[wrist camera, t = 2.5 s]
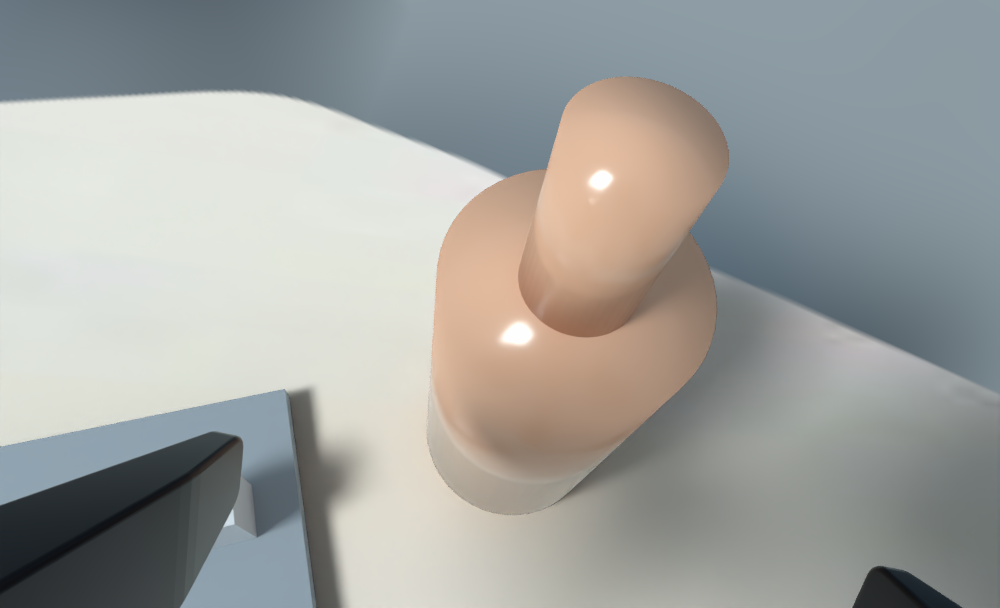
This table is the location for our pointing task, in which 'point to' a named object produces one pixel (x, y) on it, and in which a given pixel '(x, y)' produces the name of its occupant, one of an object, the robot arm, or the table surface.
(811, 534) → the table surface
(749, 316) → the table surface
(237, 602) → the plate
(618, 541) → the table surface
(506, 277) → the tan bottle
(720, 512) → the table surface
